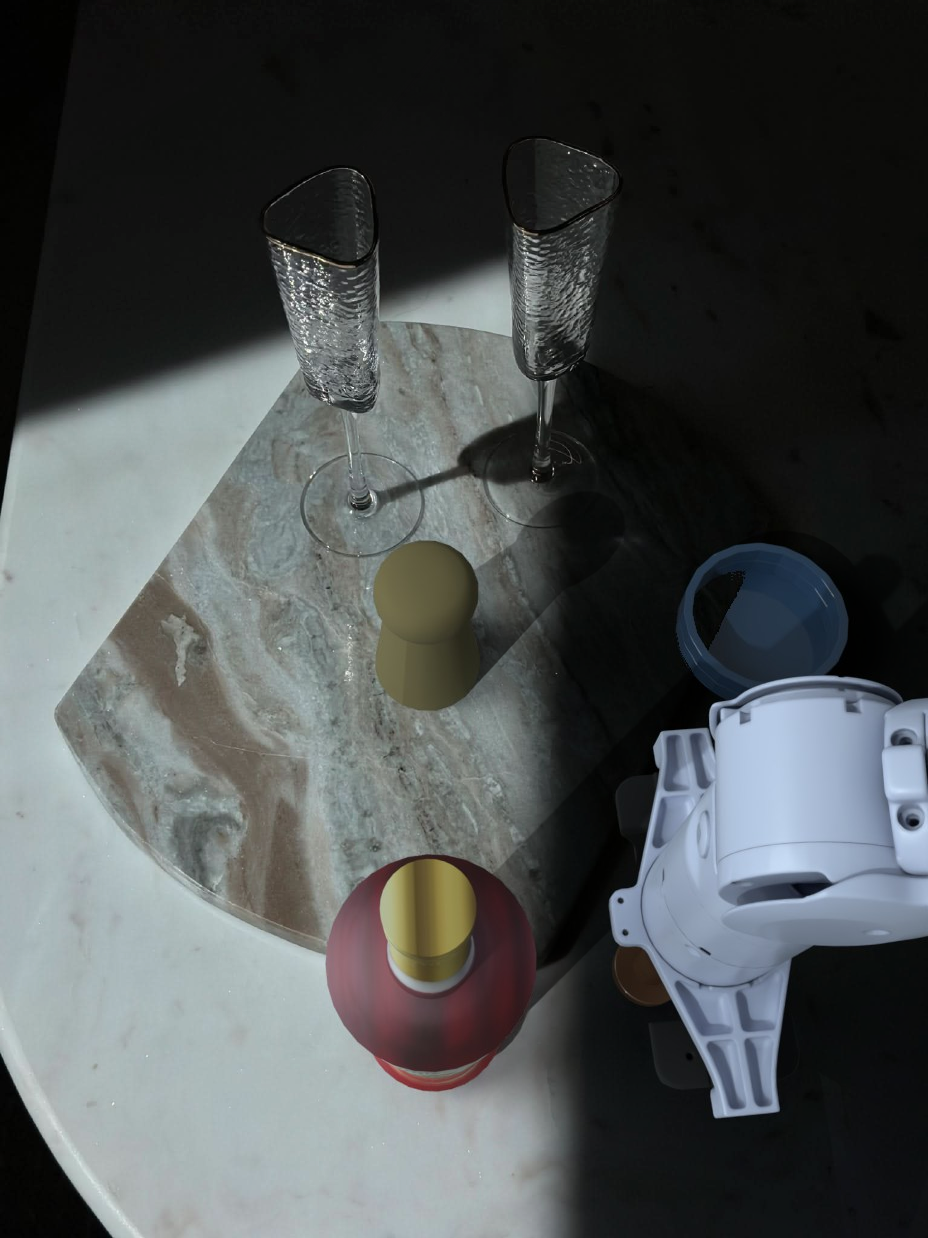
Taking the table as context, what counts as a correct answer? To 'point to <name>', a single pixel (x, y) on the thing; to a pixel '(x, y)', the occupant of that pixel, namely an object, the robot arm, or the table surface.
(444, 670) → the cork
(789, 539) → the table surface
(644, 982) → the pestle
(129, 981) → the table surface
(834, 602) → the bowl
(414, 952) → the liquor
